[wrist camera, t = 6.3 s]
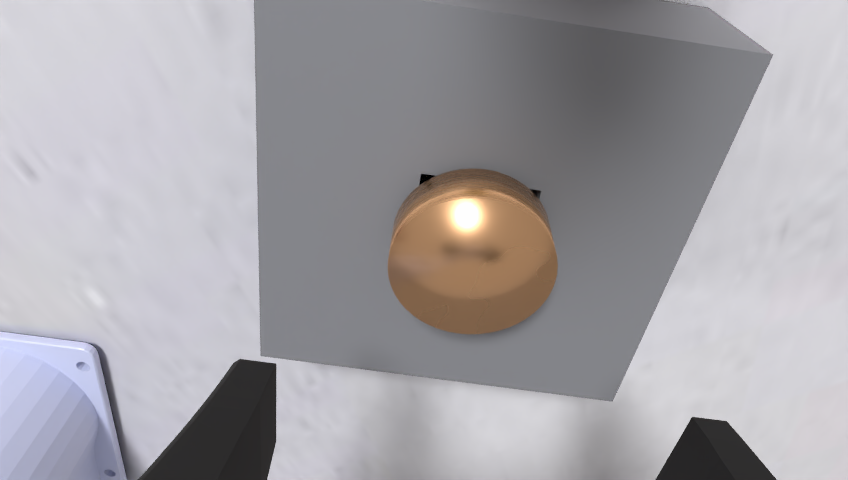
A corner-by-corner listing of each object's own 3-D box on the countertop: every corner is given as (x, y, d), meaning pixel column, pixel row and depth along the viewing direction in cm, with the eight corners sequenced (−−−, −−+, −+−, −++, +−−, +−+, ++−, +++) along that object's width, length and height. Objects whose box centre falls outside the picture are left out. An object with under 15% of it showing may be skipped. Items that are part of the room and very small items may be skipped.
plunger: (517, 226, 20) (535, 343, 16) (397, 210, 20) (379, 323, 16) (547, 113, 18) (578, 212, 13) (412, 93, 18) (397, 186, 13)
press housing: (589, 316, 22) (612, 401, 19) (290, 275, 22) (260, 355, 19) (708, 7, 16) (773, 55, 13) (295, -58, 16) (253, -26, 13)
